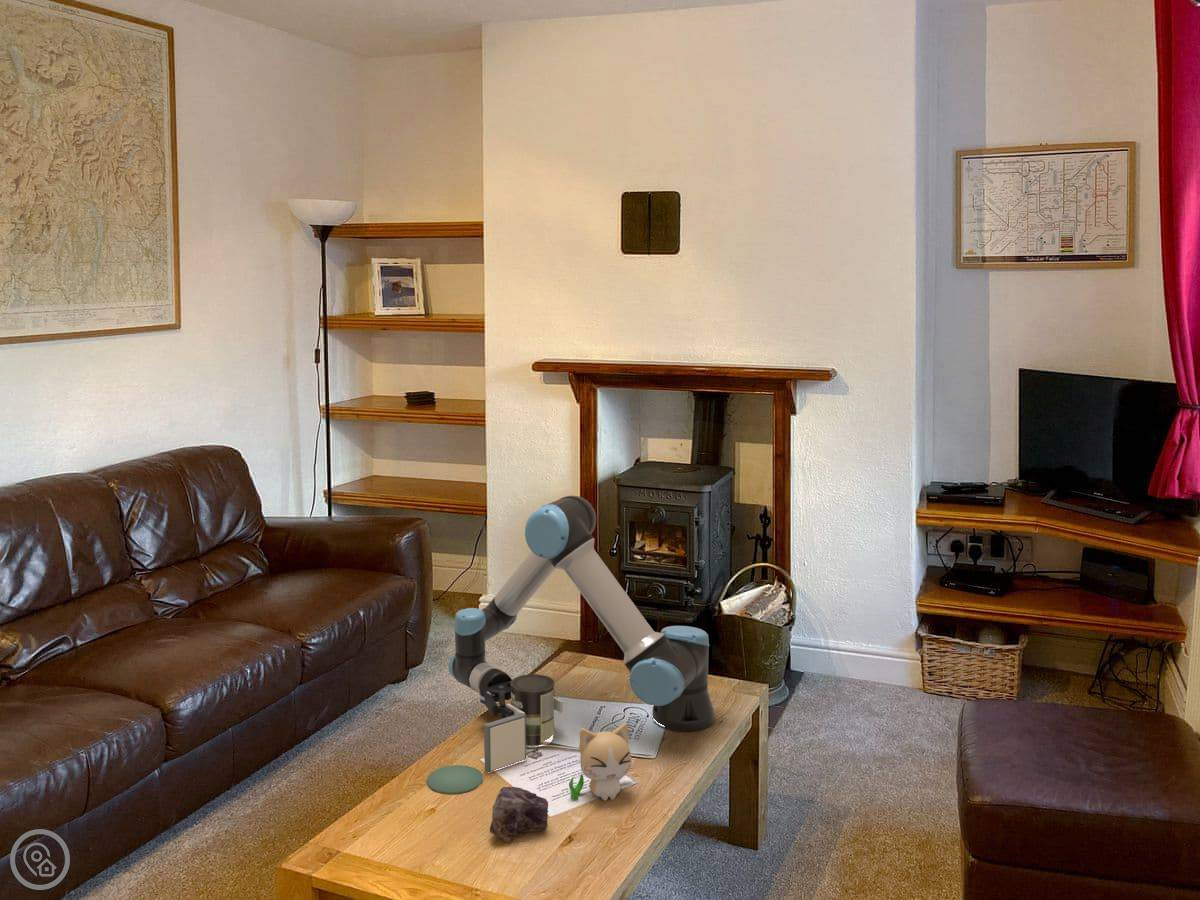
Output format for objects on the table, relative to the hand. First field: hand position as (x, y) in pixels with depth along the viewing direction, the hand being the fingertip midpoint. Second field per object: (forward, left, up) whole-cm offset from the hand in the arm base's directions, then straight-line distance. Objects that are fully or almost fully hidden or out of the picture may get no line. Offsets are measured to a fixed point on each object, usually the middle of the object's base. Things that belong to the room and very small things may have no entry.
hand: (543, 712), depth 258 cm
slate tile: (0, +13, -8) cm, 15 cm away
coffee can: (+4, -1, -8) cm, 9 cm away
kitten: (-25, +10, -8) cm, 28 cm away
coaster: (+4, +25, -8) cm, 26 cm away
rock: (-20, +32, -8) cm, 39 cm away
